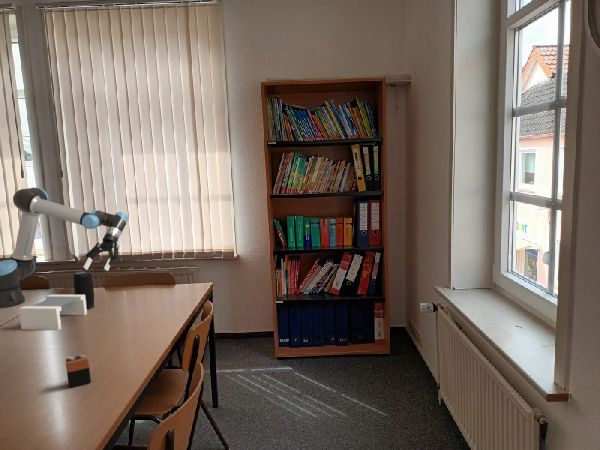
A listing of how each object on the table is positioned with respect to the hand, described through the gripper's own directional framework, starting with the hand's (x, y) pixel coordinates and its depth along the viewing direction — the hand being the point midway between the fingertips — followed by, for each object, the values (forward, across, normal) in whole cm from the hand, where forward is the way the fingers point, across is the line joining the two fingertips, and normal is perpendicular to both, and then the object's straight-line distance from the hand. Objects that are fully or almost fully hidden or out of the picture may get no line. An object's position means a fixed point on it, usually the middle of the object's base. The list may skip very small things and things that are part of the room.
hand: (95, 269), depth 249 cm
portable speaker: (+20, +1, -7) cm, 21 cm away
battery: (+69, -61, +42) cm, 101 cm away
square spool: (+34, 0, +7) cm, 34 cm away
